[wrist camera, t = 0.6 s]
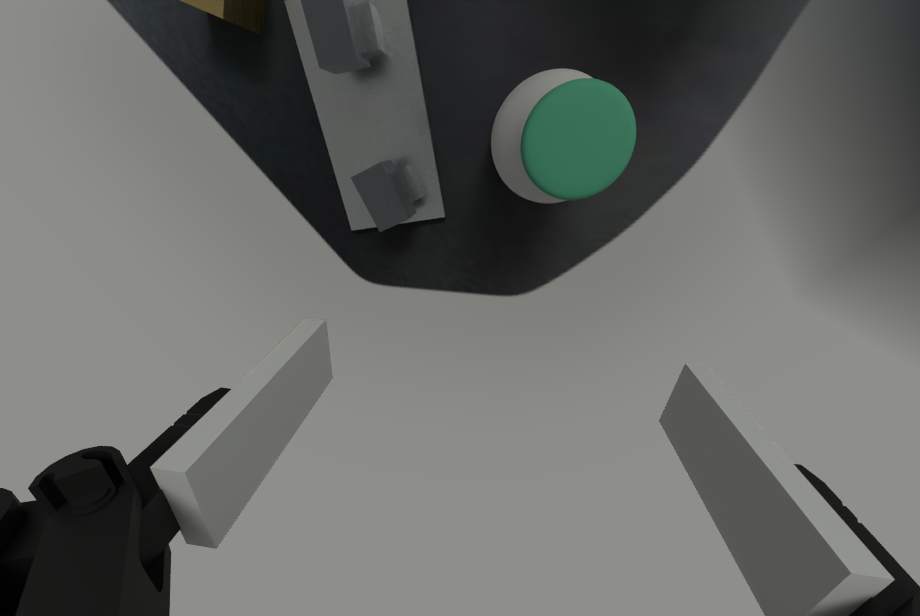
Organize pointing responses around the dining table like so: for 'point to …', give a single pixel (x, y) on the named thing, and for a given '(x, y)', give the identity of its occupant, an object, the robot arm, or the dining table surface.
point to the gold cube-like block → (235, 11)
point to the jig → (371, 107)
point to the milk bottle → (562, 136)
